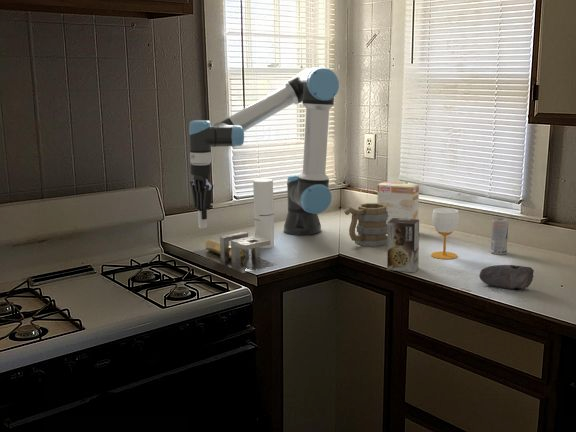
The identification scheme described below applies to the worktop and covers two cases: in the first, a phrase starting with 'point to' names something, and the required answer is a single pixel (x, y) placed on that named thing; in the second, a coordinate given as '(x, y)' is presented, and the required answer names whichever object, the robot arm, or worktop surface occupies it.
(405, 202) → the coffeecake box
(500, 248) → the energy drink
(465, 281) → the worktop surface
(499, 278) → the perforated stone tool
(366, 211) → the tankard
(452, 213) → the cup
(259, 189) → the cylindrical container
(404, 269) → the grey cookie box
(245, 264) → the hearth plate
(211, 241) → the tan cylinder
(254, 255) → the white stool-shaped bracket
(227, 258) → the grey angled bracket piece
